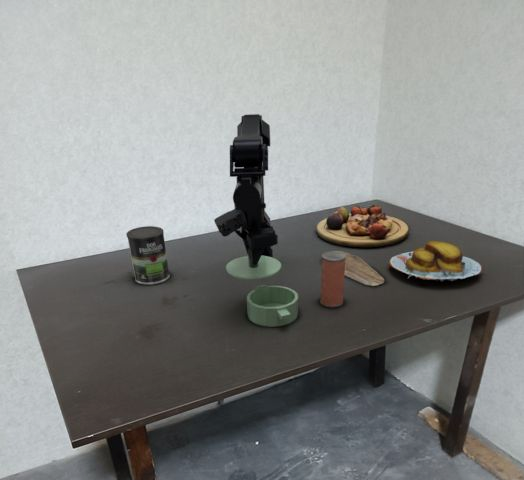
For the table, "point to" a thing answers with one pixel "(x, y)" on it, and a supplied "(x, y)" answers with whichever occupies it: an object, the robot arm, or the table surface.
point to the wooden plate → (362, 228)
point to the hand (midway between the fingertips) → (253, 262)
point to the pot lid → (253, 267)
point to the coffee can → (148, 255)
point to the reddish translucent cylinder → (332, 279)
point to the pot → (272, 305)
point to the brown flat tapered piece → (361, 271)
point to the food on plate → (436, 262)
